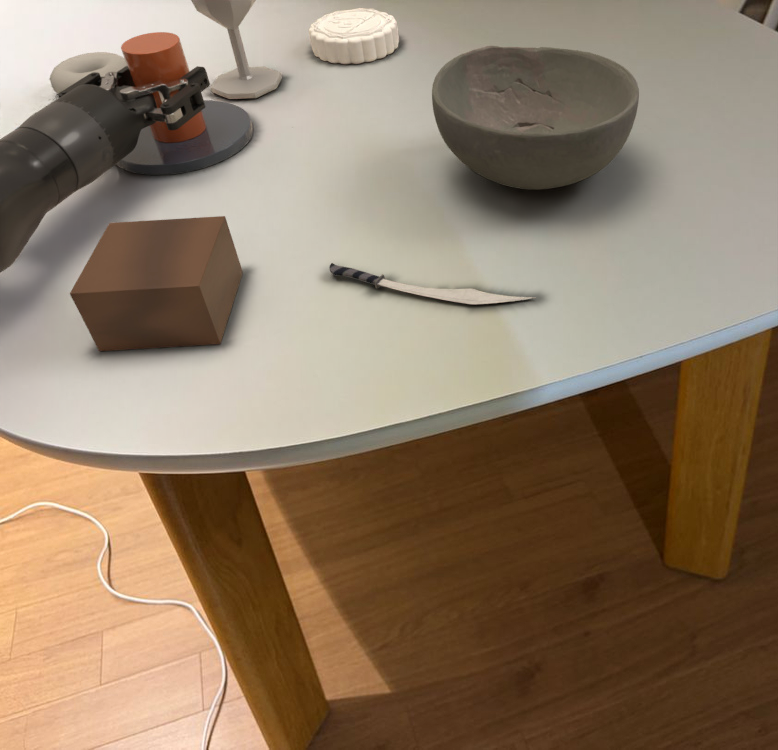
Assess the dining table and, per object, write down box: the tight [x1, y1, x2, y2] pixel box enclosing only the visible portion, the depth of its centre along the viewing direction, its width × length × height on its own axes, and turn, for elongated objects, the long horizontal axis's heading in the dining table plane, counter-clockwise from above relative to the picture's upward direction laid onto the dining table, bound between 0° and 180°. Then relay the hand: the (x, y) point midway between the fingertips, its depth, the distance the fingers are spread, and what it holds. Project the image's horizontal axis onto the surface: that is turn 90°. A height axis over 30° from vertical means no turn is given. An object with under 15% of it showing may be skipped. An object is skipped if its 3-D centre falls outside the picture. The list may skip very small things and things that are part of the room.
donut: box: [49, 51, 127, 95], centre depth 103 cm, size 10×4×10 cm
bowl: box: [431, 45, 640, 190], centre depth 81 cm, size 20×20×10 cm
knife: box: [328, 262, 537, 305], centre depth 70 cm, size 19×2×1 cm, turn 74°
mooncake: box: [308, 7, 400, 65], centre depth 110 cm, size 12×12×4 cm
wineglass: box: [190, 0, 283, 100], centre depth 96 cm, size 9×9×21 cm
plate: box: [115, 99, 254, 176], centre depth 92 cm, size 16×16×1 cm
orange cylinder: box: [120, 31, 206, 143], centre depth 88 cm, size 6×6×10 cm
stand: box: [69, 215, 244, 352], centre depth 67 cm, size 10×10×6 cm
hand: (173, 71), depth 89 cm, fingers open, 7 cm apart
